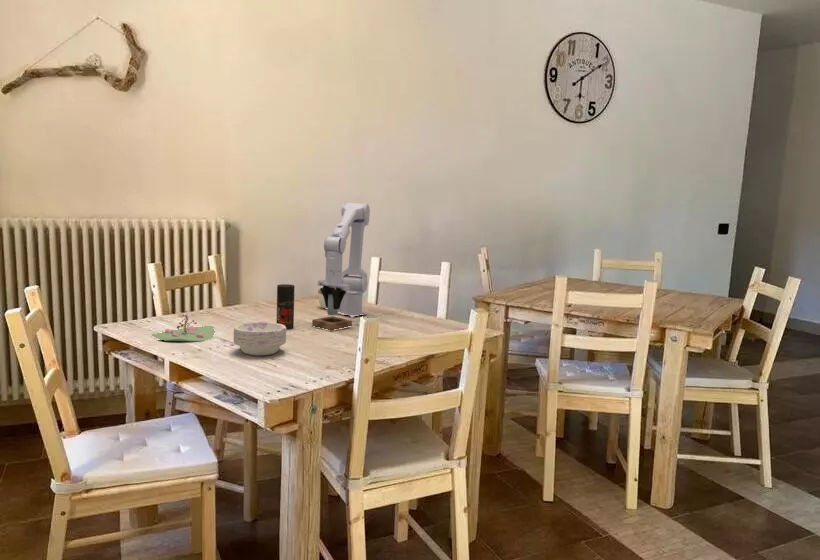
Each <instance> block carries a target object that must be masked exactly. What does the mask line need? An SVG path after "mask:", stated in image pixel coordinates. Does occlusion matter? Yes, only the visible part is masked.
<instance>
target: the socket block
mask: <svg viewBox="0 0 820 560" xmlns="http://www.w3.org/2000/svg"><path fill="white" fill-rule="evenodd" d="M313 326H315V327H314V328H316V327H320V328H324V329H328V330H334V329H339V328H344V327H348V326H352V327H353V320H351V319H347V318H346V319H345V318H342V317H339V316H335V315H330V316H327V317H321V318H320V317H319V318H313V319H312V323H311V327H313ZM320 328H319V329H320ZM324 329H323V330H324Z"/></svg>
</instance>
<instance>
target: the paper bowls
mask: <svg viewBox="0 0 820 560" xmlns="http://www.w3.org/2000/svg"><path fill="white" fill-rule="evenodd" d="M286 343H287V330H286V326H284V325H282V324H278V323H277V322H270V321H269V322H266V321H256V322H244V323H239V324H236V325H234V327H233V344H234V345H236V346H239V347H240V350H241V352H243V353H244V354H246V355H249V356H257V357H259V356H263V357H264V356H270V355H273V354H275V353H277V352H278V351H279V349H280V347H281V346H284V345H285V344H286Z"/></svg>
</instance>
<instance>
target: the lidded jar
mask: <svg viewBox="0 0 820 560" xmlns="http://www.w3.org/2000/svg"><path fill="white" fill-rule="evenodd" d="M335 290H336V289H335ZM317 292H318V295H317V296H318V303H319V304H320V306H321V307H322V308H327V307H326V305H325V300H324V297H323V294H322V292H321V291H320V288H319V289H318V290H317Z"/></svg>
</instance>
